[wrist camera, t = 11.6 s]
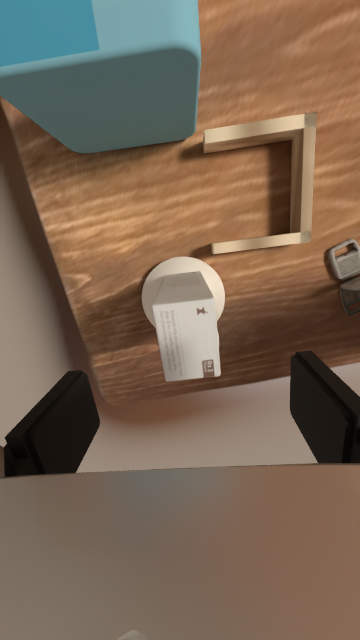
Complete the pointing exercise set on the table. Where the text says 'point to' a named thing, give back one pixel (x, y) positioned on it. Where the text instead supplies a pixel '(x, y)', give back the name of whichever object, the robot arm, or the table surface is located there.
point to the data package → (103, 69)
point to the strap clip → (347, 273)
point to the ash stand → (302, 171)
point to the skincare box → (186, 327)
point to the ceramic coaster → (175, 267)
